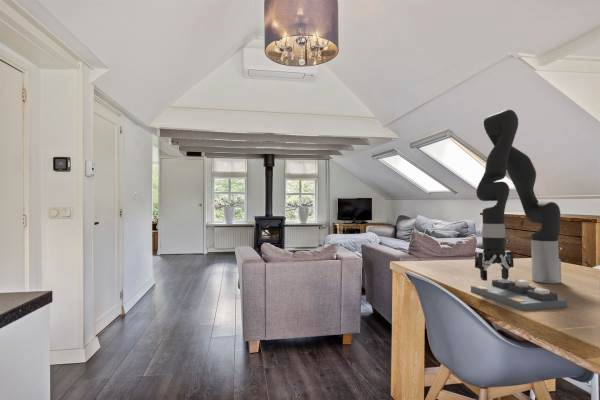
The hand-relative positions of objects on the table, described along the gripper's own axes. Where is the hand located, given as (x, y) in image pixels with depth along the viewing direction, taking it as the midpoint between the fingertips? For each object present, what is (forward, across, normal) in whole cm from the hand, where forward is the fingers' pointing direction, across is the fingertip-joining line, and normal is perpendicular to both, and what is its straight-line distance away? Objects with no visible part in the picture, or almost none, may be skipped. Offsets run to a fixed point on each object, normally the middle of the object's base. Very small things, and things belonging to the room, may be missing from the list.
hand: (494, 279), depth 126 cm
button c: (+2, -4, +16) cm, 17 cm away
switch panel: (+5, -1, +8) cm, 9 cm away
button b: (+1, -4, +8) cm, 9 cm away
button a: (+2, -4, 0) cm, 5 cm away
